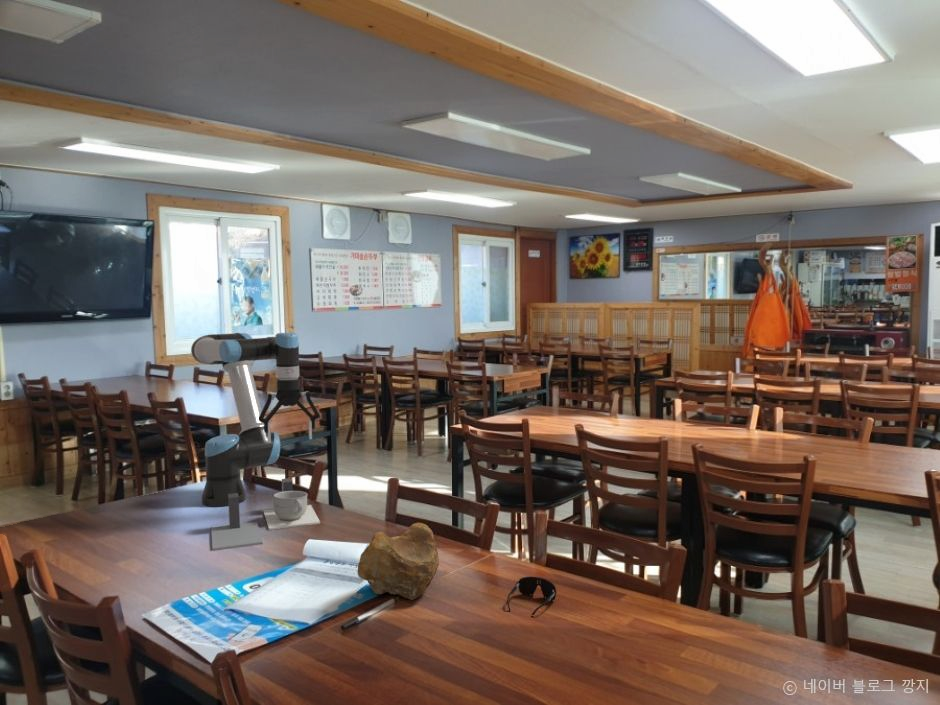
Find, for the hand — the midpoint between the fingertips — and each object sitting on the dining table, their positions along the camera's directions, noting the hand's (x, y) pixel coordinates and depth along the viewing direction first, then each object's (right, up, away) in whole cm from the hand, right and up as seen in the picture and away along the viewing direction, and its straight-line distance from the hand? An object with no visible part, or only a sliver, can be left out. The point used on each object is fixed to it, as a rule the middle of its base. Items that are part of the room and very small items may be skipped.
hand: (290, 440), depth 239 cm
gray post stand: (-11, -27, -23) cm, 37 cm away
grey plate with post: (+2, -25, -5) cm, 26 cm away
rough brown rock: (+46, -30, -63) cm, 83 cm away
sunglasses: (+76, -31, -72) cm, 109 cm away
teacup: (+3, -25, -8) cm, 26 cm away
